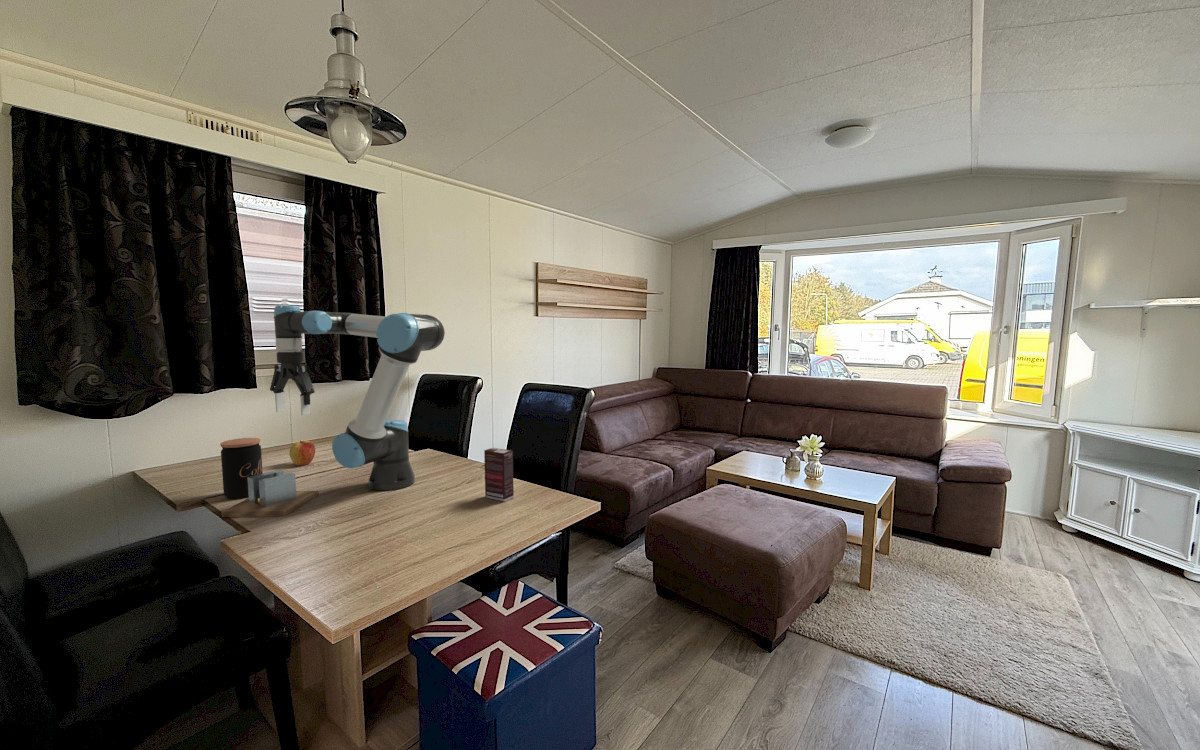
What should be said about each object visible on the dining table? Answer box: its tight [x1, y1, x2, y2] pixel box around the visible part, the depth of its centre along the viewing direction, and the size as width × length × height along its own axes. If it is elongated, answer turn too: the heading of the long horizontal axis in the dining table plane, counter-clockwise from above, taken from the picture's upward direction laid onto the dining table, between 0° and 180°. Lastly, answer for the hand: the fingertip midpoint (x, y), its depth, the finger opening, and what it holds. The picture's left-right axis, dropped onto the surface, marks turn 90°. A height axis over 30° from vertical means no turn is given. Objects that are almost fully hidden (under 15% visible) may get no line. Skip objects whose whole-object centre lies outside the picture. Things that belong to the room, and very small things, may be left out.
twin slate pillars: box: [247, 469, 297, 508], centre depth 149 cm, size 9×9×8 cm
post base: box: [221, 490, 319, 518], centre depth 149 cm, size 18×18×8 cm
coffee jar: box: [219, 437, 264, 500], centre depth 158 cm, size 11×11×18 cm
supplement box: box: [483, 447, 515, 502], centre depth 156 cm, size 9×5×16 cm, turn 60°
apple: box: [288, 440, 316, 467], centre depth 194 cm, size 9×9×10 cm
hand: (293, 413), depth 164 cm, fingers open, 13 cm apart
